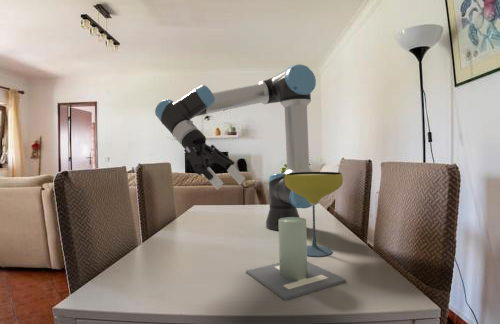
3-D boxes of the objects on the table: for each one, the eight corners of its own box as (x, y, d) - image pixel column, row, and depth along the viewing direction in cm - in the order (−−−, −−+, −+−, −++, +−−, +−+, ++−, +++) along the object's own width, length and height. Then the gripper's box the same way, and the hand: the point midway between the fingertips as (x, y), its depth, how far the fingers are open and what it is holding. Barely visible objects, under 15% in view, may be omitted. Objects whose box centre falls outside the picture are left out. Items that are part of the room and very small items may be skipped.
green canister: (296, 267, 83) (294, 216, 82) (313, 276, 76) (312, 220, 76) (274, 272, 79) (273, 219, 79) (290, 282, 73) (289, 224, 73)
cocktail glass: (344, 245, 103) (343, 171, 103) (342, 263, 86) (341, 175, 86) (292, 241, 109) (290, 171, 109) (280, 258, 92) (278, 175, 92)
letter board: (299, 260, 90) (299, 258, 90) (345, 281, 74) (345, 279, 74) (245, 272, 81) (245, 270, 81) (285, 300, 65) (285, 297, 65)
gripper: (169, 125, 86) (217, 178, 80) (217, 130, 109) (257, 172, 102) (156, 145, 89) (201, 198, 82) (205, 146, 111) (243, 187, 105)
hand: (232, 184), depth 92 cm, fingers open, 13 cm apart
